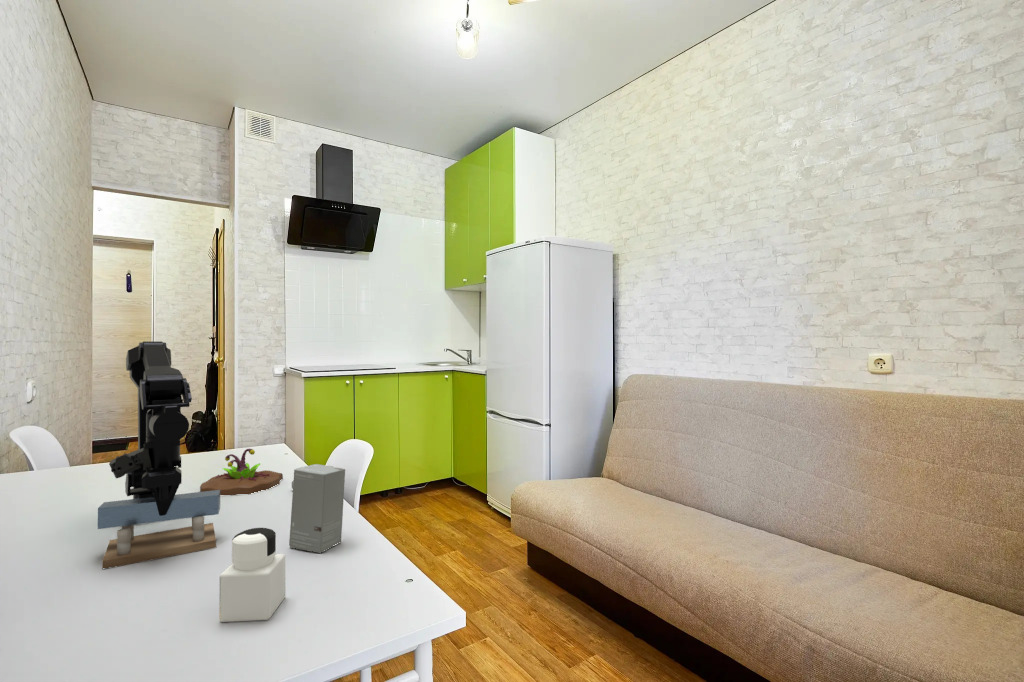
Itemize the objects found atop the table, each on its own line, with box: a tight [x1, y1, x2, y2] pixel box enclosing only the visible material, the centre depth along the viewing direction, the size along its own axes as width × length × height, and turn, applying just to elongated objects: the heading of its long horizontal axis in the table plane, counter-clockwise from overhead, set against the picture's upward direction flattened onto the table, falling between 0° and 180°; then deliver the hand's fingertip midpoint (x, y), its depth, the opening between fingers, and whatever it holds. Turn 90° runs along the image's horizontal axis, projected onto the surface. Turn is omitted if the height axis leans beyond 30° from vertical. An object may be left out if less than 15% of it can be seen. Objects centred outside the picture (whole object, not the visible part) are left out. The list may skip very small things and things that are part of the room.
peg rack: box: [101, 516, 217, 570], centre depth 103 cm, size 12×18×6 cm, turn 123°
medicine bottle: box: [219, 527, 286, 623], centre depth 78 cm, size 7×7×12 cm
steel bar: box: [97, 490, 221, 530], centre depth 103 cm, size 20×4×4 cm, turn 115°
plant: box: [199, 448, 284, 496], centre depth 148 cm, size 20×20×11 cm
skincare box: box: [288, 463, 346, 554], centre depth 104 cm, size 8×7×16 cm
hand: (163, 512), depth 103 cm, fingers closed on steel bar, 4 cm apart
